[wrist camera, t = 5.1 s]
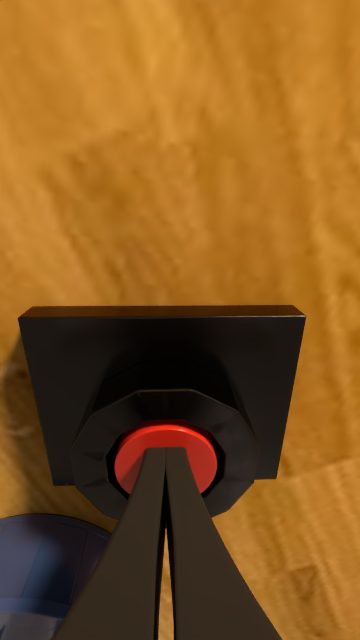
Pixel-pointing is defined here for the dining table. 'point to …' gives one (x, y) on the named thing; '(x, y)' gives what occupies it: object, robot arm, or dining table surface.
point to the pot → (48, 556)
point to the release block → (162, 387)
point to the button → (165, 436)
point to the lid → (30, 618)
